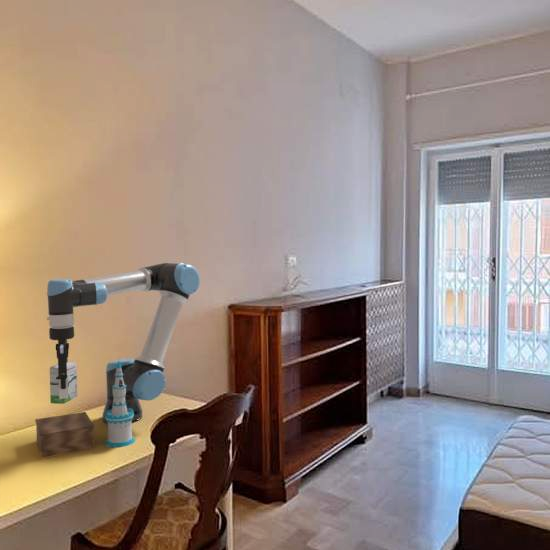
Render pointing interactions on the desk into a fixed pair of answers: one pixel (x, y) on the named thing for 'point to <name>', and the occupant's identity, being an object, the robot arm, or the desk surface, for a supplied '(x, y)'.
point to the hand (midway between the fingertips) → (64, 393)
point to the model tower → (119, 415)
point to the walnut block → (64, 434)
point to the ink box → (71, 383)
